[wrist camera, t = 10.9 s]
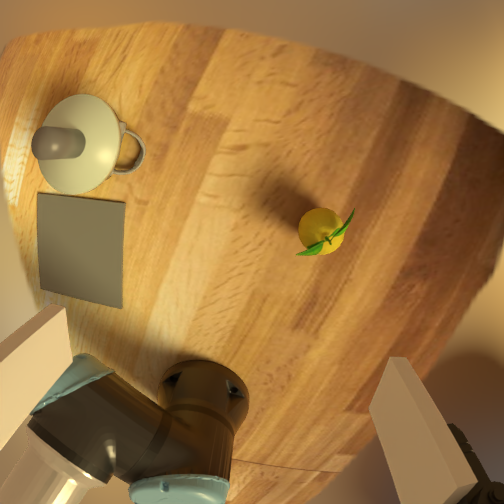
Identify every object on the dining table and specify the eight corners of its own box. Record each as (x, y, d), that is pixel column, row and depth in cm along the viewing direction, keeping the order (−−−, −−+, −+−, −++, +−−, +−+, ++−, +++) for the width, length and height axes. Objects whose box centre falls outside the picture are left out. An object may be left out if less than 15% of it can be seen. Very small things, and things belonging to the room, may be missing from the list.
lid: (116, 197, 34) (85, 206, 28) (38, 190, 34) (3, 197, 28) (128, 93, 31) (99, 81, 24) (47, 98, 31) (13, 91, 24)
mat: (122, 307, 46) (121, 309, 46) (42, 287, 46) (40, 288, 46) (125, 203, 42) (124, 203, 42) (39, 193, 42) (37, 193, 42)
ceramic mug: (78, 171, 41) (48, 174, 34) (89, 116, 39) (61, 110, 32) (141, 185, 42) (118, 191, 34) (155, 126, 39) (134, 120, 32)
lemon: (341, 200, 41) (363, 212, 31) (341, 244, 42) (362, 267, 33) (290, 202, 41) (297, 214, 32) (292, 246, 43) (299, 271, 33)
